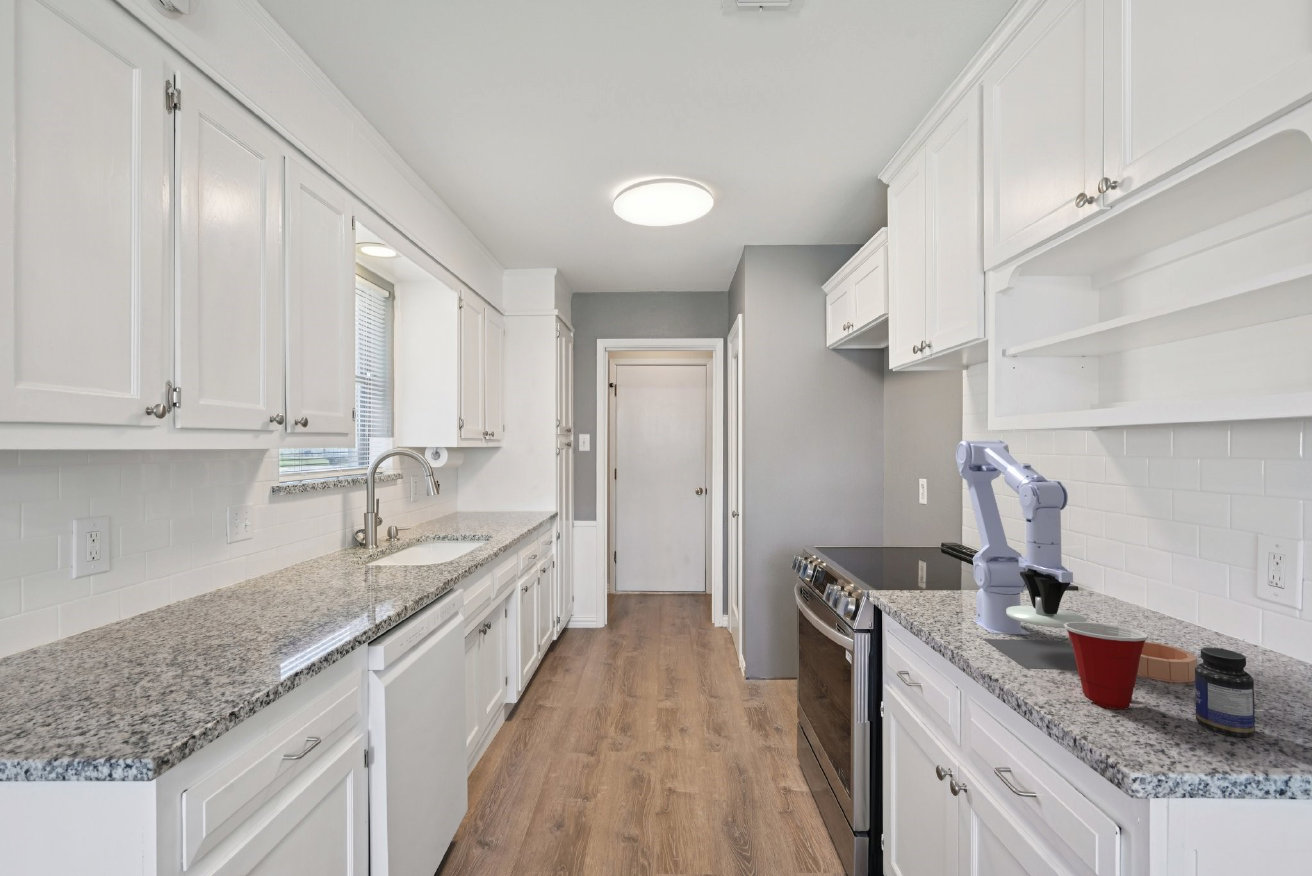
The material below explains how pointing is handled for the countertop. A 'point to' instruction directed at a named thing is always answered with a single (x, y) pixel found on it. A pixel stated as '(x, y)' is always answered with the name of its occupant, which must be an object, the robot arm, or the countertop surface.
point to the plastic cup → (1106, 661)
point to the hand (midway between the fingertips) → (1044, 610)
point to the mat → (1037, 653)
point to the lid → (1042, 615)
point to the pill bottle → (1224, 693)
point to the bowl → (1166, 663)
